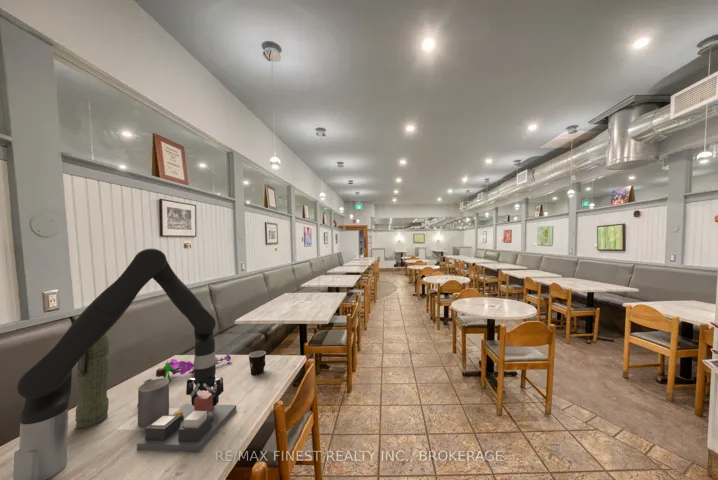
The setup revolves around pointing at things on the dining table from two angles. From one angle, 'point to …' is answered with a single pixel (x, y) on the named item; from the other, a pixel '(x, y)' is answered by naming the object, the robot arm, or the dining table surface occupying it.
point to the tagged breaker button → (163, 421)
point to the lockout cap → (203, 402)
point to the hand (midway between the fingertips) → (205, 404)
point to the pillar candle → (153, 401)
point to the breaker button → (195, 419)
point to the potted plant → (181, 367)
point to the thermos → (93, 385)
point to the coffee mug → (257, 362)
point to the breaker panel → (185, 431)
